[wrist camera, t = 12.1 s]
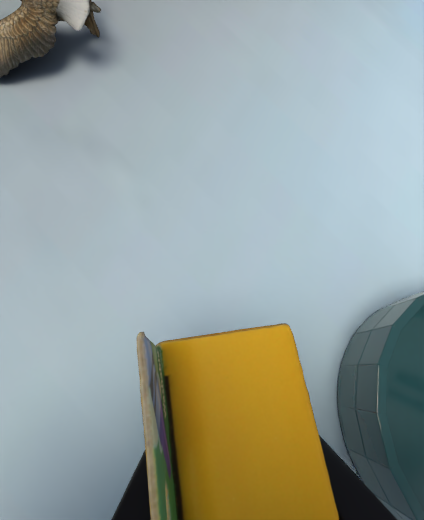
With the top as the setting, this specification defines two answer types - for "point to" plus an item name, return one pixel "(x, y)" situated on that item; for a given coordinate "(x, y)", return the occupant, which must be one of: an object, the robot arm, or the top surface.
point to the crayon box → (231, 429)
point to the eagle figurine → (40, 28)
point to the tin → (387, 405)
